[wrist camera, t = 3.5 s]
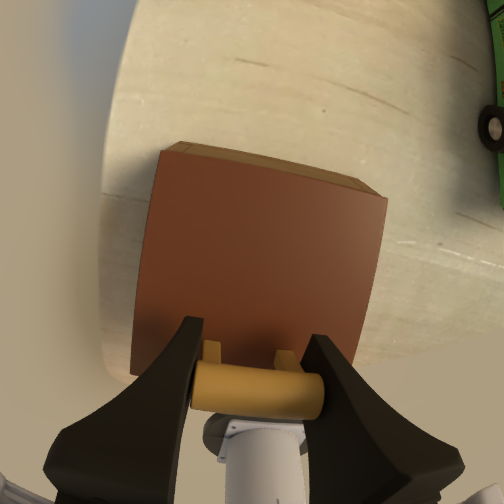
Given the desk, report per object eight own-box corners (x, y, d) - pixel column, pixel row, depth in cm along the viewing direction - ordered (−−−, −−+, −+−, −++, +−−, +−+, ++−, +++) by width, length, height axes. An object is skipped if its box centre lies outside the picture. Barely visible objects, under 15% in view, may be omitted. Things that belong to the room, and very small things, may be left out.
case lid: (336, 394, 14) (376, 451, 9) (132, 368, 13) (100, 427, 8) (382, 198, 13) (448, 190, 9) (163, 152, 12) (134, 115, 8)
